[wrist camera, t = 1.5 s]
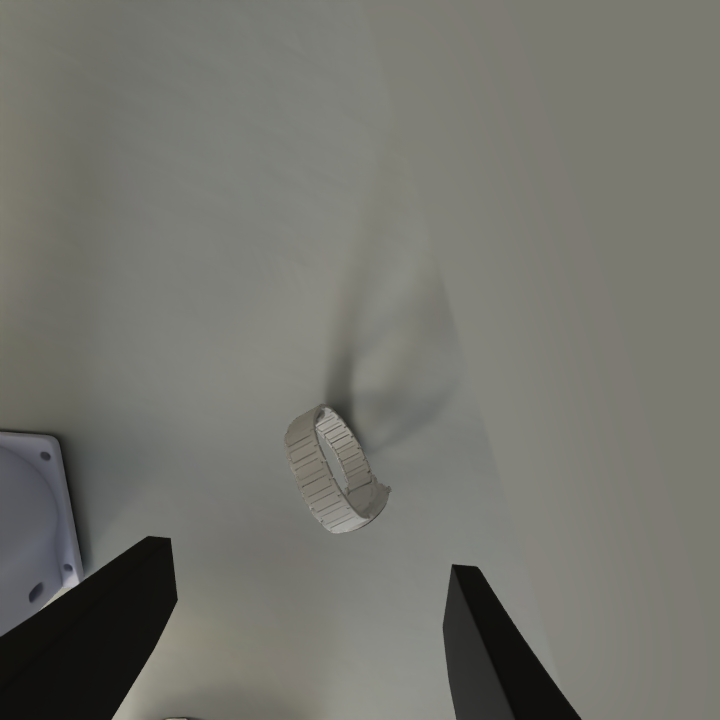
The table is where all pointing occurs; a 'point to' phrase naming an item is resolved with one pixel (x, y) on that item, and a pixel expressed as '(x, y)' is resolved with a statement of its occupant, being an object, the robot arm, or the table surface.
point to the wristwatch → (325, 492)
